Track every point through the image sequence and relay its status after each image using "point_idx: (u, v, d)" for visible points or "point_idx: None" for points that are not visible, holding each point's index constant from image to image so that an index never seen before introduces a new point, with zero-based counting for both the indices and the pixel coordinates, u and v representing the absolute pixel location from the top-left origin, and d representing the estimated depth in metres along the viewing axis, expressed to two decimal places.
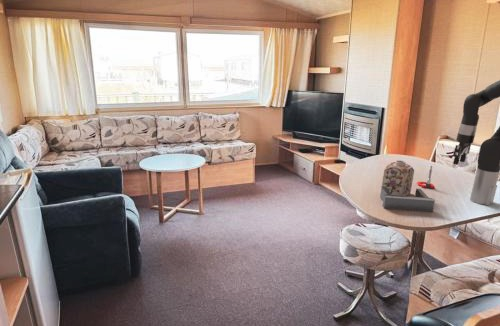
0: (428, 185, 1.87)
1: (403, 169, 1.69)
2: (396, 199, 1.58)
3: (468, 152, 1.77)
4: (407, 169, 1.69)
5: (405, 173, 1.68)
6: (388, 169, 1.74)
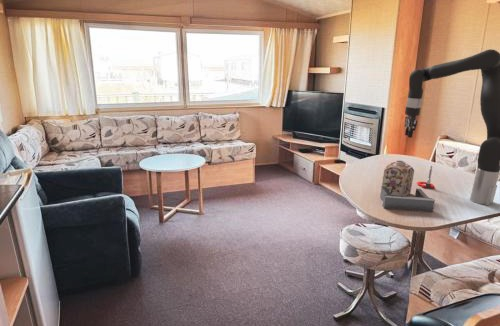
0: (428, 185, 1.87)
1: (403, 169, 1.69)
2: (396, 199, 1.58)
3: (410, 128, 1.84)
4: (407, 169, 1.69)
5: (405, 173, 1.68)
6: (388, 169, 1.74)
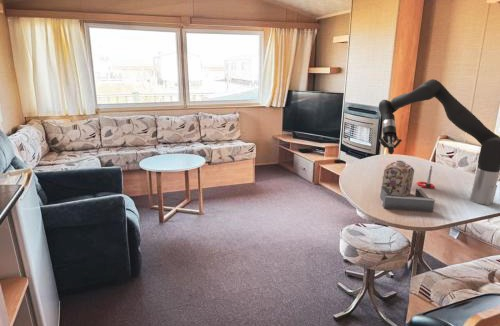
0: (428, 185, 1.87)
1: (403, 169, 1.69)
2: (396, 199, 1.58)
3: (385, 146, 1.96)
4: (407, 169, 1.69)
5: (405, 173, 1.68)
6: (388, 169, 1.74)
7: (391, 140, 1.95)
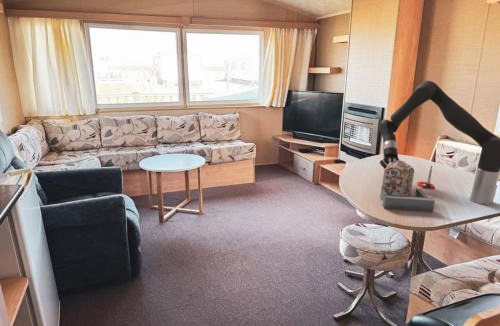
0: (428, 185, 1.87)
1: (403, 169, 1.69)
2: (396, 199, 1.58)
3: None
4: (407, 169, 1.69)
5: (405, 173, 1.68)
6: (388, 169, 1.73)
7: (392, 162, 1.87)
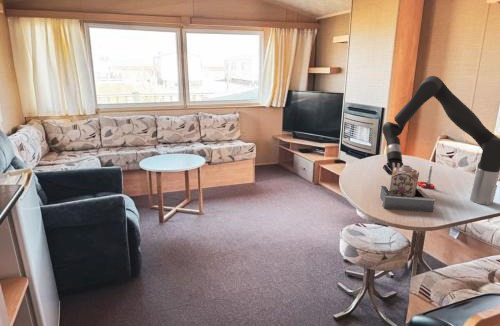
0: (428, 185, 1.87)
1: (413, 175, 1.61)
2: (396, 199, 1.58)
3: None
4: (416, 174, 1.61)
5: (415, 179, 1.60)
6: (396, 175, 1.64)
7: (396, 167, 1.79)
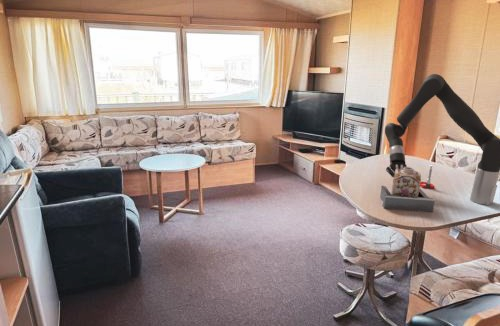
0: (428, 185, 1.87)
1: (416, 176, 1.58)
2: (396, 199, 1.58)
3: None
4: (419, 176, 1.59)
5: (419, 181, 1.58)
6: (399, 178, 1.60)
7: None
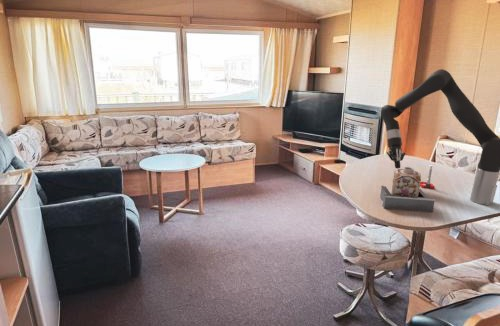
0: (428, 185, 1.87)
1: (416, 177, 1.58)
2: (396, 199, 1.58)
3: None
4: (419, 176, 1.59)
5: (419, 181, 1.57)
6: (399, 178, 1.60)
7: (398, 153, 1.87)
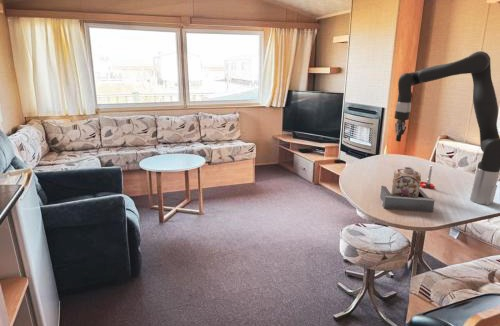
0: (428, 185, 1.87)
1: (416, 177, 1.58)
2: (396, 199, 1.58)
3: (398, 132, 1.84)
4: (419, 176, 1.59)
5: (419, 181, 1.57)
6: (399, 178, 1.60)
7: None
